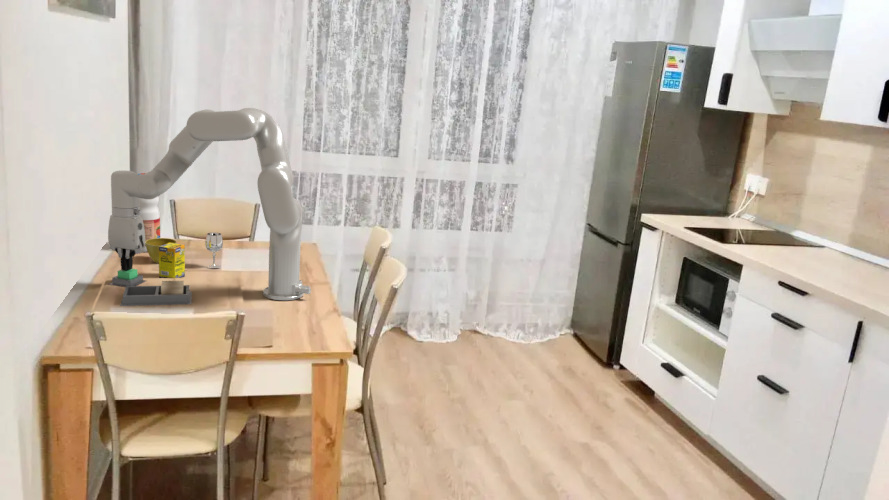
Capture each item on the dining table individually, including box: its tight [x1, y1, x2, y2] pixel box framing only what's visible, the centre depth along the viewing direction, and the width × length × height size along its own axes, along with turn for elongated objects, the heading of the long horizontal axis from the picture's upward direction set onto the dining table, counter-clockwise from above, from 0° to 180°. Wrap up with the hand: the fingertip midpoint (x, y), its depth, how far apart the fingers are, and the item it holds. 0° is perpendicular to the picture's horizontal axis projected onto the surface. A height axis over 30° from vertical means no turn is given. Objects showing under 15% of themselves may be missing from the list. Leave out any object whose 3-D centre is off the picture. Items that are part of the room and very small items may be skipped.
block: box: [160, 280, 185, 295], centre depth 203 cm, size 6×6×4 cm
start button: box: [117, 268, 138, 279], centre depth 213 cm, size 4×4×2 cm
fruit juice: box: [137, 172, 161, 253], centre depth 250 cm, size 9×9×28 cm
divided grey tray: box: [119, 284, 193, 307], centre depth 202 cm, size 19×11×4 cm, turn 109°
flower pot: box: [145, 237, 177, 264], centre depth 240 cm, size 10×10×7 cm
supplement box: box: [158, 243, 186, 279], centre depth 224 cm, size 6×6×11 cm
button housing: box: [107, 273, 147, 288], centre depth 214 cm, size 8×8×3 cm
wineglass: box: [204, 231, 224, 269], centre depth 238 cm, size 6×6×12 cm
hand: (126, 269), depth 213 cm, fingers closed
